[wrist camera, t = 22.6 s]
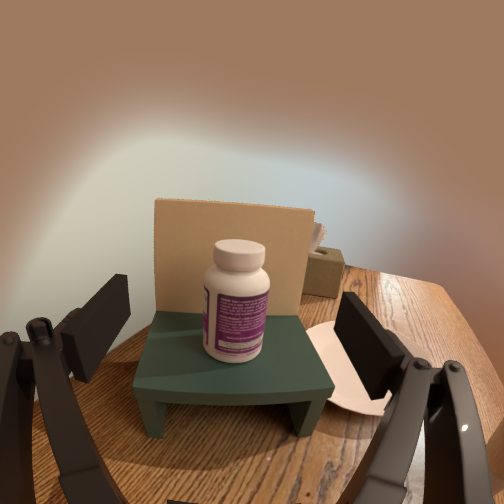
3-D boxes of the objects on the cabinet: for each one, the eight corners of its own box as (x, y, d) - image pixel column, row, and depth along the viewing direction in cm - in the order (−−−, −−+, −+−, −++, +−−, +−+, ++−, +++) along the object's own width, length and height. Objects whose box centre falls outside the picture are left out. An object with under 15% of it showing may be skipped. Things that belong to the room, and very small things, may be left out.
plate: (336, 318, 47) (339, 307, 46) (440, 362, 33) (446, 350, 32) (257, 371, 32) (259, 358, 31) (405, 453, 18) (415, 442, 18)
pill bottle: (271, 345, 25) (286, 246, 22) (239, 374, 20) (251, 261, 18) (225, 325, 28) (232, 233, 25) (190, 347, 23) (191, 243, 20)
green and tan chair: (147, 441, 19) (110, 226, 14) (162, 358, 32) (157, 198, 26) (312, 439, 22) (378, 243, 16) (284, 361, 34) (311, 209, 29)
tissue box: (335, 282, 64) (347, 216, 59) (338, 299, 54) (354, 224, 50) (258, 269, 67) (265, 204, 62) (249, 284, 58) (257, 209, 53)
